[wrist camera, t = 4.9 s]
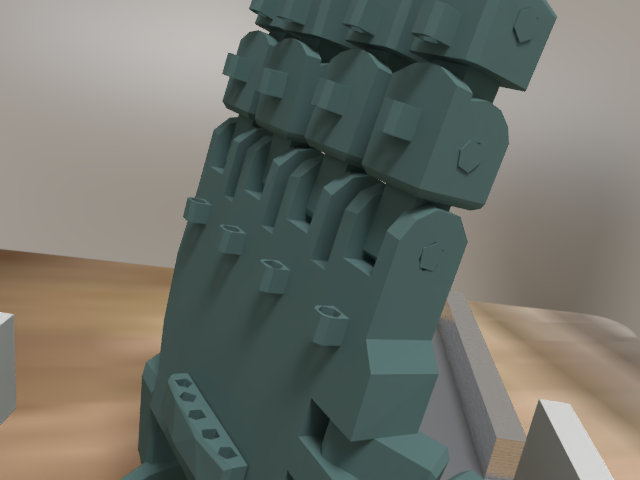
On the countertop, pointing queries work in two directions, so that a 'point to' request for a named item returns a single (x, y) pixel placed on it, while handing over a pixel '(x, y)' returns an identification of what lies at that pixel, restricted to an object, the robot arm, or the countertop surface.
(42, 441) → the countertop surface
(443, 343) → the rail dock
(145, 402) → the robotic hand
